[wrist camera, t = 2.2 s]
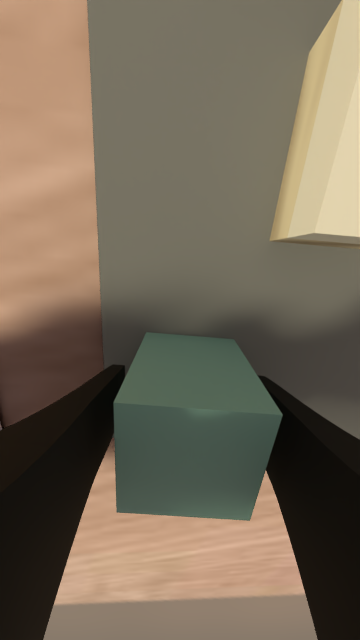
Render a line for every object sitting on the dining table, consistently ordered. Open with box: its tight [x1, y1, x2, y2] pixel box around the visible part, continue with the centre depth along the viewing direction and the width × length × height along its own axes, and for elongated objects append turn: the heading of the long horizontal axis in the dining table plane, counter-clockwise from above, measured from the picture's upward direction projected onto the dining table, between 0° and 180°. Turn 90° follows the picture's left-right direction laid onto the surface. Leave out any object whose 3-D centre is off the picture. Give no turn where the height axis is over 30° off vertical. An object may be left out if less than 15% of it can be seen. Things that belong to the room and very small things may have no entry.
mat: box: [87, 0, 360, 439], centre depth 9 cm, size 16×20×1 cm
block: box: [113, 332, 283, 521], centre depth 8 cm, size 4×4×5 cm
